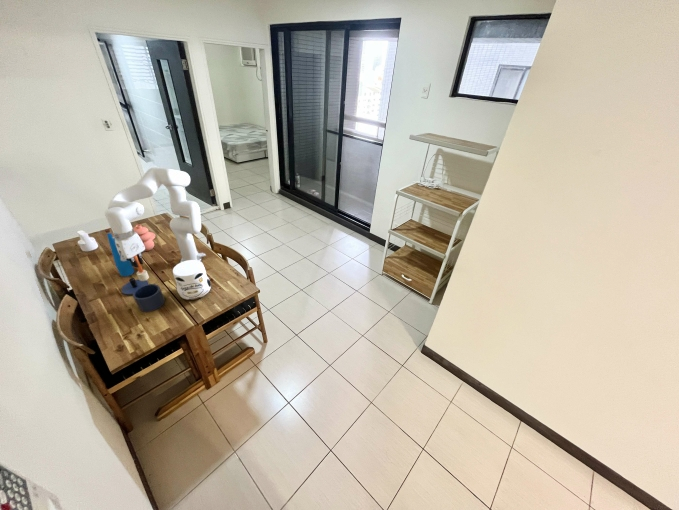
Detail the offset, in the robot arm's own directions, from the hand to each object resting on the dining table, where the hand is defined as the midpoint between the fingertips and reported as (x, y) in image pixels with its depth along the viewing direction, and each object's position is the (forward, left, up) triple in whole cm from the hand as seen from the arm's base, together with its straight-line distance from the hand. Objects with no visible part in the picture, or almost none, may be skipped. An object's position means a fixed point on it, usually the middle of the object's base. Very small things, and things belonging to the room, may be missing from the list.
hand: (138, 265), depth 138 cm
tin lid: (+10, -16, -24) cm, 31 cm away
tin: (+1, +2, -25) cm, 25 cm away
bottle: (+16, -34, -25) cm, 45 cm away
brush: (0, 0, -9) cm, 9 cm away
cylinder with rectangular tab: (+42, -75, -25) cm, 90 cm away
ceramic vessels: (+11, -71, -25) cm, 76 cm away
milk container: (-21, +1, -25) cm, 33 cm away
